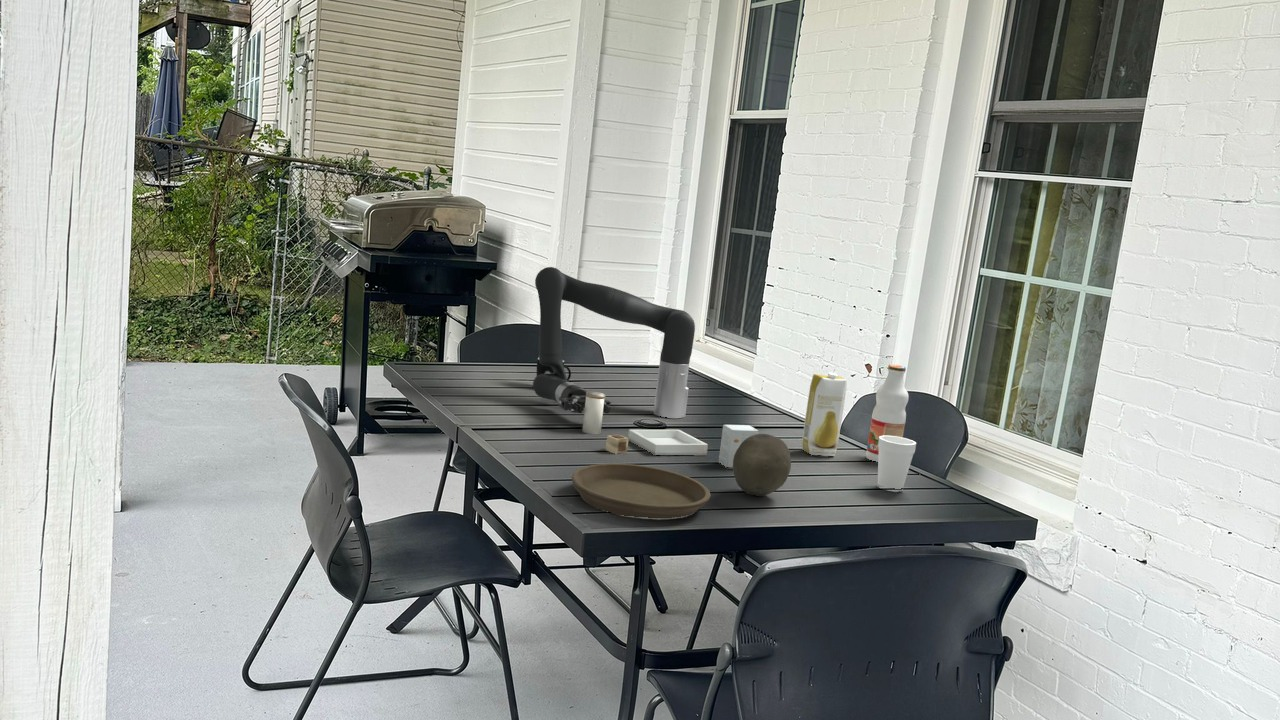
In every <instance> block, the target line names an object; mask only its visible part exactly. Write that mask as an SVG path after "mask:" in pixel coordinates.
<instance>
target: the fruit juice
mask: <svg viewBox="0 0 1280 720" xmlns="http://www.w3.org/2000/svg"><path fill="white" fill-rule="evenodd" d="M906 369H907V368H906V366H903V365H900V364H899V365H898V364H888V366H887V372H888V373H887V376H886V378H885V380H884V382H883V383H882V385H880V386H879V387H878V388H877V391H876V393H875V400H876V404H875V406H874V408H873V409H872V410H873V411H872V415H871V420H870V428H869V434H868V440H867V446H866V451H865V452H866V454H865V457H866V459H867V460H868V459H869V460H868V461H870V460H872V461H871V462H873V461H876V462H875V463H877V462H878V454H879V447H878V442H879V436H897V437H902V438H904V432H905V425H906V418H907V413H906V412H907V411H906V408H907V407H906V406H907V405H908V402H909V392H908V391H907V389H906V386H905V381H904V380H905V379H904V375H905V373H906Z"/></svg>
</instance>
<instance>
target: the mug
mask: <svg viewBox="0 0 1280 720" xmlns="http://www.w3.org/2000/svg"><path fill="white" fill-rule="evenodd" d="M562 361H563V366H564V369H567V371H568V376H567V381H568V382H569V381H570V379H571V377H572V372H571V371H572V370H571V369H570V367H569V366H568V365H566V364H565V360H563V359H562ZM551 373H554V371H553V369H552V367H550V366H545V365H542V364H540V362H539V357H538V358H537V359H536V376H538V375H539V374H551Z"/></svg>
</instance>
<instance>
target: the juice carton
mask: <svg viewBox="0 0 1280 720" xmlns="http://www.w3.org/2000/svg"><path fill="white" fill-rule="evenodd" d="M846 394H847V379H846V378H843V377H841V376H840V375H839V376H838V374H837V373H835V372H828V374H827V375H824V374H819V373H813V375H812V378H811V383H810V385H809V392H808V397H807V406H806V409H805V410H806V413H805V417H804V425H803V430H802V431H803V432H802V440H801V449H802V451H803V450H804V451H803V452H805V451H806V452H807V454H808V453H809V454H811V455H810V456H812V455H827V456H826V457H828V456H834V457H835V456H836V452H837V449H838V445H839V440H840V433H841V427H842V421H843V414H844V407H845V400H846ZM806 452H805V453H806ZM809 454H808V455H809Z"/></svg>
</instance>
